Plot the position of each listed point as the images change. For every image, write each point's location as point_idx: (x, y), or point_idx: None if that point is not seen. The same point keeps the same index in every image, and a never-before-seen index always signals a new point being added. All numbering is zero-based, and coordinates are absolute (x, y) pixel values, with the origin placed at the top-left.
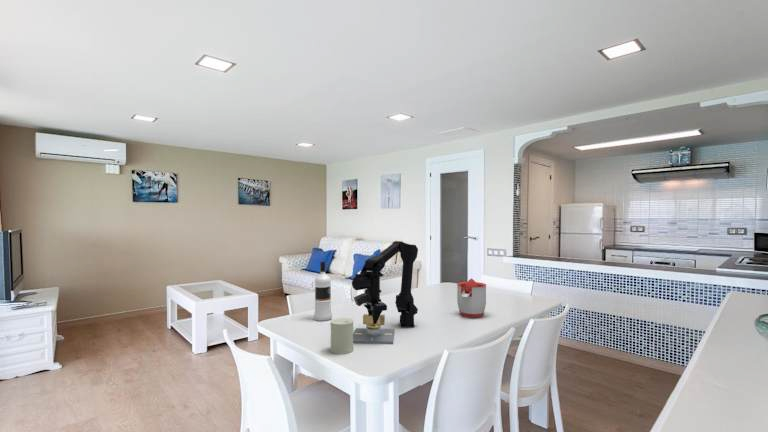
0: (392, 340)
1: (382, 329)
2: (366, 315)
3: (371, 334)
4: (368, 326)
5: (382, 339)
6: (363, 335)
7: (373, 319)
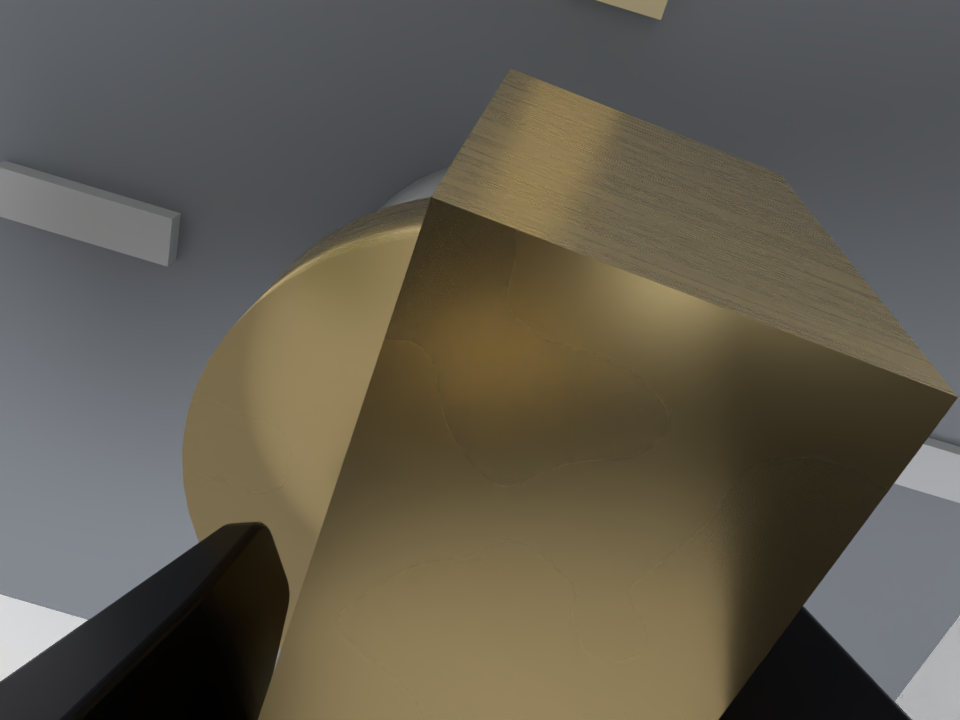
0: (39, 596)
1: (859, 623)
2: (423, 501)
3: None
4: (283, 276)
5: (97, 444)
6: (477, 26)
7: (36, 657)
